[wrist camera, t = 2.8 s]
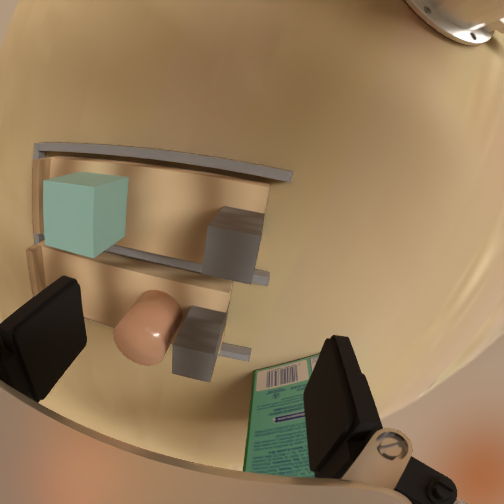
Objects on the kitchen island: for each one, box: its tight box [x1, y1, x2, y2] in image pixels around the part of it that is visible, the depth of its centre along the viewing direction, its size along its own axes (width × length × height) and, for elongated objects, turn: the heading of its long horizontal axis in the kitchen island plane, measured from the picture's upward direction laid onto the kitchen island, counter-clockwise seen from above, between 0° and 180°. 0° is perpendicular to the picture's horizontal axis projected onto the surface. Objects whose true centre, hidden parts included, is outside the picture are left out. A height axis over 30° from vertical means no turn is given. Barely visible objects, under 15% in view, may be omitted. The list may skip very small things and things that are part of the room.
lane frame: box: [33, 142, 293, 361], centre depth 25 cm, size 26×18×1 cm
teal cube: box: [43, 172, 129, 258], centre depth 19 cm, size 5×5×5 cm
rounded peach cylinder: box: [114, 290, 182, 366], centre depth 23 cm, size 4×4×5 cm
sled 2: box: [26, 240, 233, 382], centre depth 24 cm, size 21×7×8 cm, turn 79°
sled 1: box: [32, 156, 270, 284], centre depth 20 cm, size 21×7×8 cm, turn 79°
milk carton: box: [243, 354, 320, 478], centre depth 19 cm, size 9×9×25 cm
